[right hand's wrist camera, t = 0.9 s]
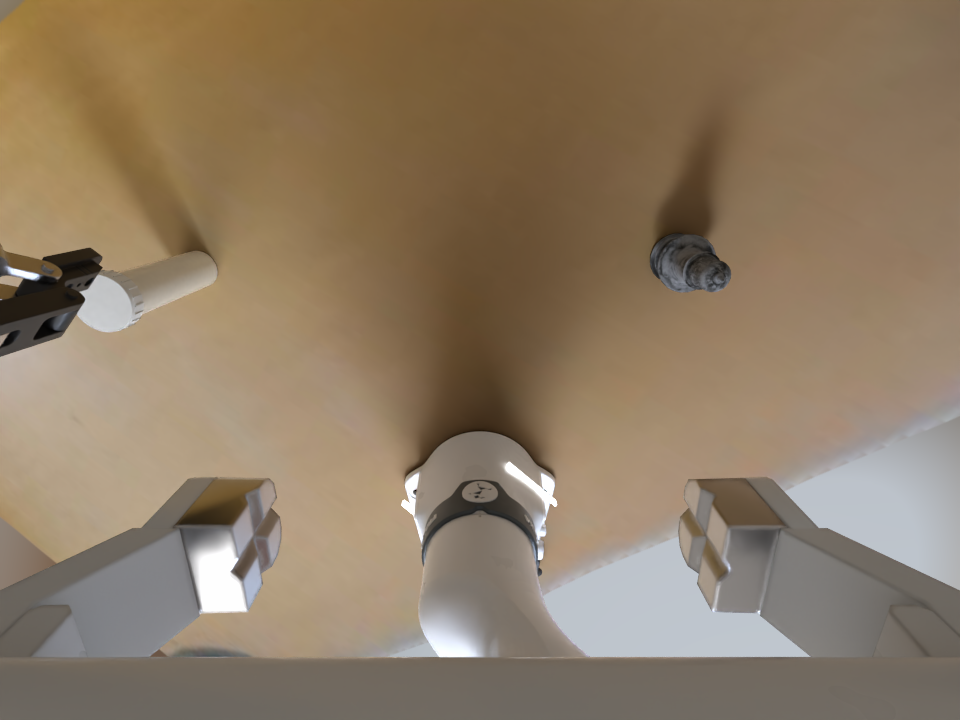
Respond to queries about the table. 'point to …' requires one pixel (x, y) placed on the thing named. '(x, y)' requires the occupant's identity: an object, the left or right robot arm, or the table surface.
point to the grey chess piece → (688, 264)
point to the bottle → (172, 278)
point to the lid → (111, 302)
